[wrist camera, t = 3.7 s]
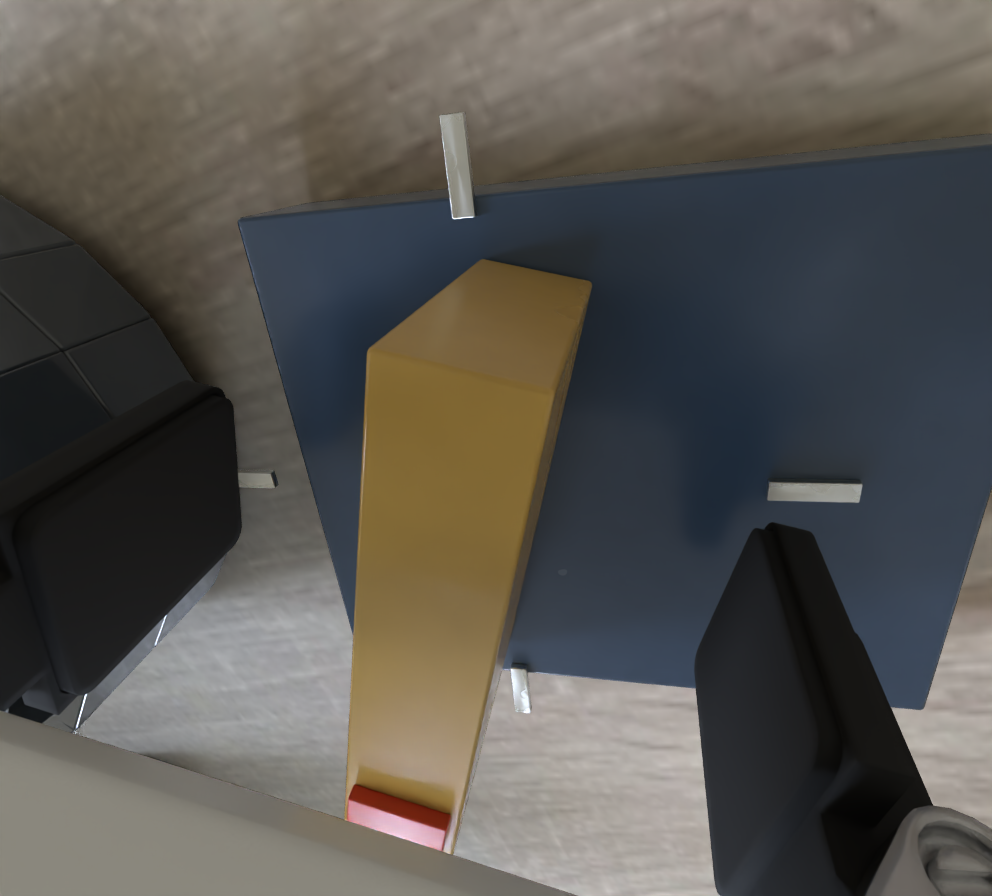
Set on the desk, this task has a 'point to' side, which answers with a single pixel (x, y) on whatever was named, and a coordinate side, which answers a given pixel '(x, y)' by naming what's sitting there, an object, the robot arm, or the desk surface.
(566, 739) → the desk surface
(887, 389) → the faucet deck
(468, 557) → the yellow rectangular block
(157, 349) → the basin
